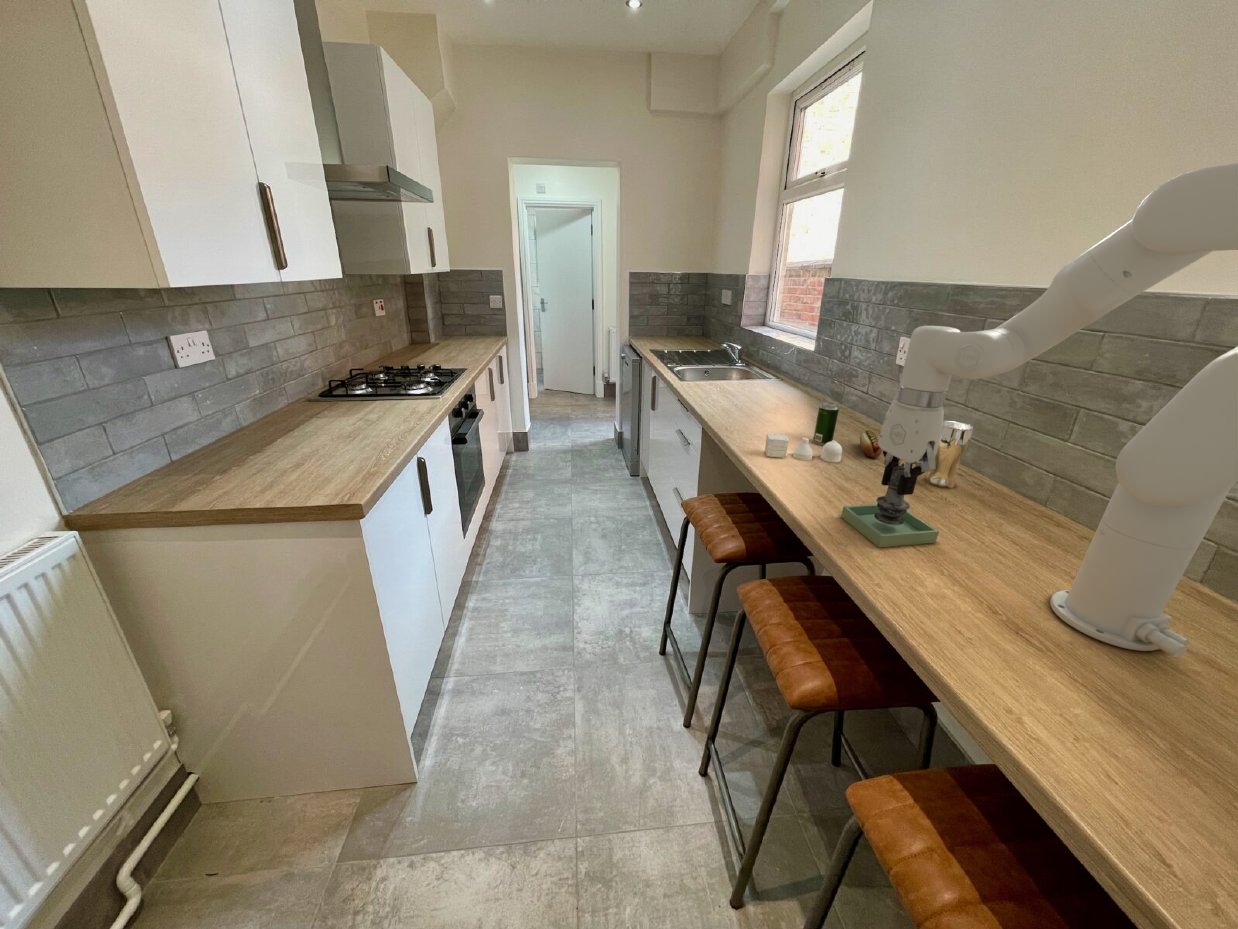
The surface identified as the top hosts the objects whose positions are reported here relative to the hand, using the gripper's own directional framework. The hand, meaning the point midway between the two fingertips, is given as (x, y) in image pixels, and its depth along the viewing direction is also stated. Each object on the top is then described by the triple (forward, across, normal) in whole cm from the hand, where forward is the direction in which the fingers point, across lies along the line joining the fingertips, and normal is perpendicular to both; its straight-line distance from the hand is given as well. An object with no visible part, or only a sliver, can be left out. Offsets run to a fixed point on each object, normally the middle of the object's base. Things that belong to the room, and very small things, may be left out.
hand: (896, 488), depth 95 cm
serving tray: (+9, 0, 0) cm, 9 cm away
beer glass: (+9, -19, +29) cm, 36 cm away
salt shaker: (+7, 0, 0) cm, 7 cm away
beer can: (+9, -50, +16) cm, 53 cm away
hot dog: (+9, -41, +25) cm, 49 cm away
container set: (+9, -40, +4) cm, 41 cm away
